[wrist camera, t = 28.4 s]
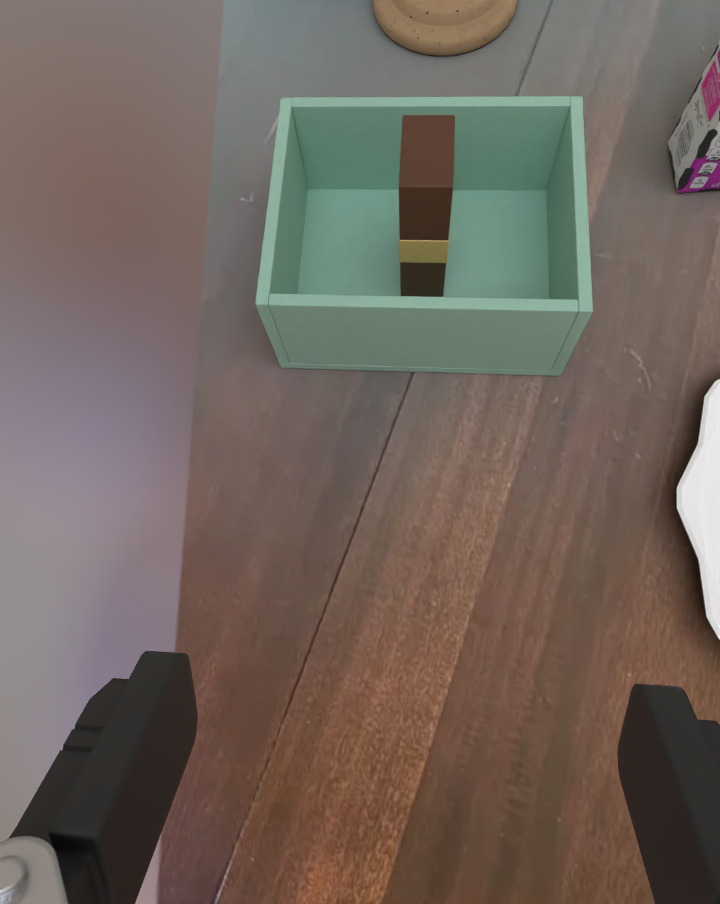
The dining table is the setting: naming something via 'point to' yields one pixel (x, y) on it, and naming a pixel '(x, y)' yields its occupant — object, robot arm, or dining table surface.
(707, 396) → the plate
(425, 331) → the bin
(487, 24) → the candle holder
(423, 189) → the chocolate bar
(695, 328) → the dining table surface
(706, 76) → the candy bar box
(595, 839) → the dining table surface
